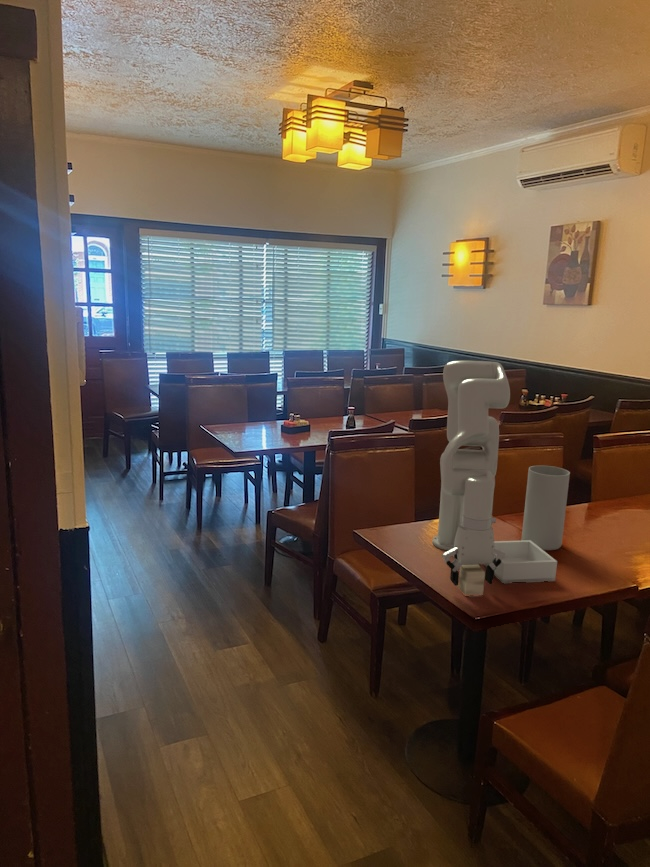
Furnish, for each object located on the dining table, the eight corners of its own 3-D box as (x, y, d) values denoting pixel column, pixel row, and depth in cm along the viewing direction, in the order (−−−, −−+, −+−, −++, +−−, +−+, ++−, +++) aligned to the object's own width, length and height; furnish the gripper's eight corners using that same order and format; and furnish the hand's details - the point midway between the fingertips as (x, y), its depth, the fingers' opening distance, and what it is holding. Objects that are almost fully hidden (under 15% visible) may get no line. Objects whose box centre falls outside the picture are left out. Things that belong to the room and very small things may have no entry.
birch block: (458, 588, 172) (460, 564, 171) (475, 587, 173) (477, 563, 172) (465, 596, 167) (467, 572, 166) (482, 595, 168) (485, 571, 167)
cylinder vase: (514, 543, 206) (521, 469, 201) (532, 534, 215) (539, 463, 209) (550, 554, 197) (559, 478, 192) (567, 544, 206) (576, 471, 201)
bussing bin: (479, 560, 191) (481, 541, 190) (528, 558, 194) (530, 540, 193) (502, 583, 176) (504, 563, 175) (555, 581, 178) (557, 561, 177)
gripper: (501, 517, 171) (495, 575, 174) (440, 518, 168) (436, 578, 171) (513, 526, 164) (507, 587, 167) (450, 528, 161) (445, 590, 164)
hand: (471, 582), depth 169 cm, fingers open, 9 cm apart
